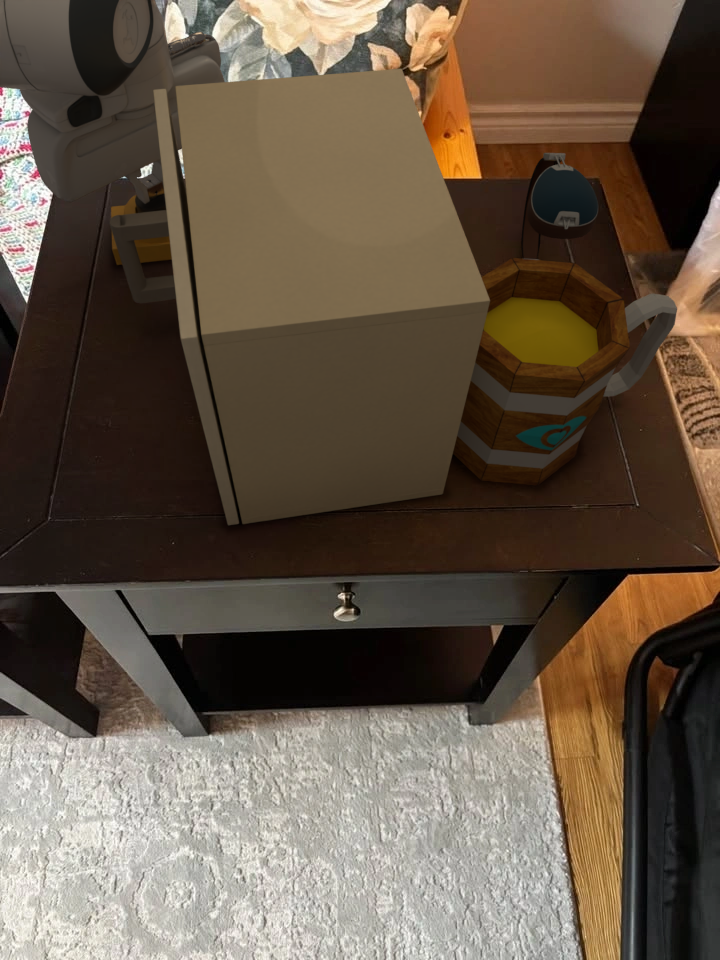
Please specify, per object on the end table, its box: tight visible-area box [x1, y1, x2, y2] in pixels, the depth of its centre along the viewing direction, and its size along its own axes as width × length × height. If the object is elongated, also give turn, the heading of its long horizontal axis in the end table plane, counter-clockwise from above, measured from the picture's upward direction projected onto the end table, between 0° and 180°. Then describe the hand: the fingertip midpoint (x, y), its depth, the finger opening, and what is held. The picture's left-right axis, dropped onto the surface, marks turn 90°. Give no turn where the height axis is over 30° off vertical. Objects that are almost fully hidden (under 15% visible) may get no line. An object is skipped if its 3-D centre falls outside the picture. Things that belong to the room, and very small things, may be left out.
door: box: [109, 89, 240, 526], centre depth 61 cm, size 7×26×24 cm, turn 12°
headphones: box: [520, 152, 599, 260], centre depth 74 cm, size 6×15×22 cm
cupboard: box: [175, 68, 490, 525], centre depth 63 cm, size 18×26×24 cm
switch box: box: [110, 194, 172, 266], centre depth 82 cm, size 10×7×4 cm
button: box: [135, 194, 166, 213], centre depth 80 cm, size 4×4×2 cm
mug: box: [452, 257, 678, 486], centre depth 66 cm, size 20×14×15 cm
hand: (153, 195), depth 79 cm, fingers closed
